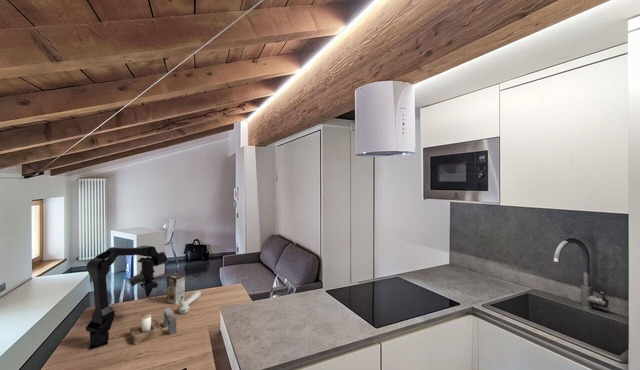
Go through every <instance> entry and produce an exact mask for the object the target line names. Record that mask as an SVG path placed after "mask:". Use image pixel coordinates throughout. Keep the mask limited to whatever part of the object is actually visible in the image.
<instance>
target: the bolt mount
mask: <svg viewBox="0 0 640 370" xmlns="http://www.w3.org/2000/svg"><path fill="white" fill-rule="evenodd" d="M162 315H163V316H162V317H163V318H162V321H163V323H162V325H163V328H167V329H168V330H167V333H168V335H169V336H171V335H173V334H177V318H176V317H175V316H173V317H172V316H169V317H168V316H167V314H166V313H165V311H163V313H162Z"/></svg>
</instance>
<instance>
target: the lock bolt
mask: <svg viewBox="0 0 640 370" xmlns="http://www.w3.org/2000/svg"><path fill="white" fill-rule="evenodd" d="M164 312H165V313H166V314H167V316H168V317H169V316H171V317H172V316H173V313H174V312H173V310H172V309H171V307H166V308H164Z"/></svg>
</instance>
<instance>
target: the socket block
mask: <svg viewBox="0 0 640 370" xmlns="http://www.w3.org/2000/svg"><path fill="white" fill-rule="evenodd" d="M129 335H130V338H131V340H132V342H133V345H134V346H135V345H138V344H142V343H145V342H147V341H150V340H153V339H154V340H155V339H156V338H159V337H162V336H163V328H162V327H161V325H160V324H159V321H157V320H154V321H151V330H150V331H147V332H144V333H141V324H139V325H137V326H133V327H131V328H129ZM141 342H142V343H141Z"/></svg>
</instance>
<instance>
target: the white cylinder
mask: <svg viewBox="0 0 640 370" xmlns="http://www.w3.org/2000/svg"><path fill="white" fill-rule="evenodd" d="M140 318H141V324H140V325H141V333H144V332H147V331H150V330H151V322H152V313H151V312H145V313H143V314H141V317H140Z"/></svg>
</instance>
